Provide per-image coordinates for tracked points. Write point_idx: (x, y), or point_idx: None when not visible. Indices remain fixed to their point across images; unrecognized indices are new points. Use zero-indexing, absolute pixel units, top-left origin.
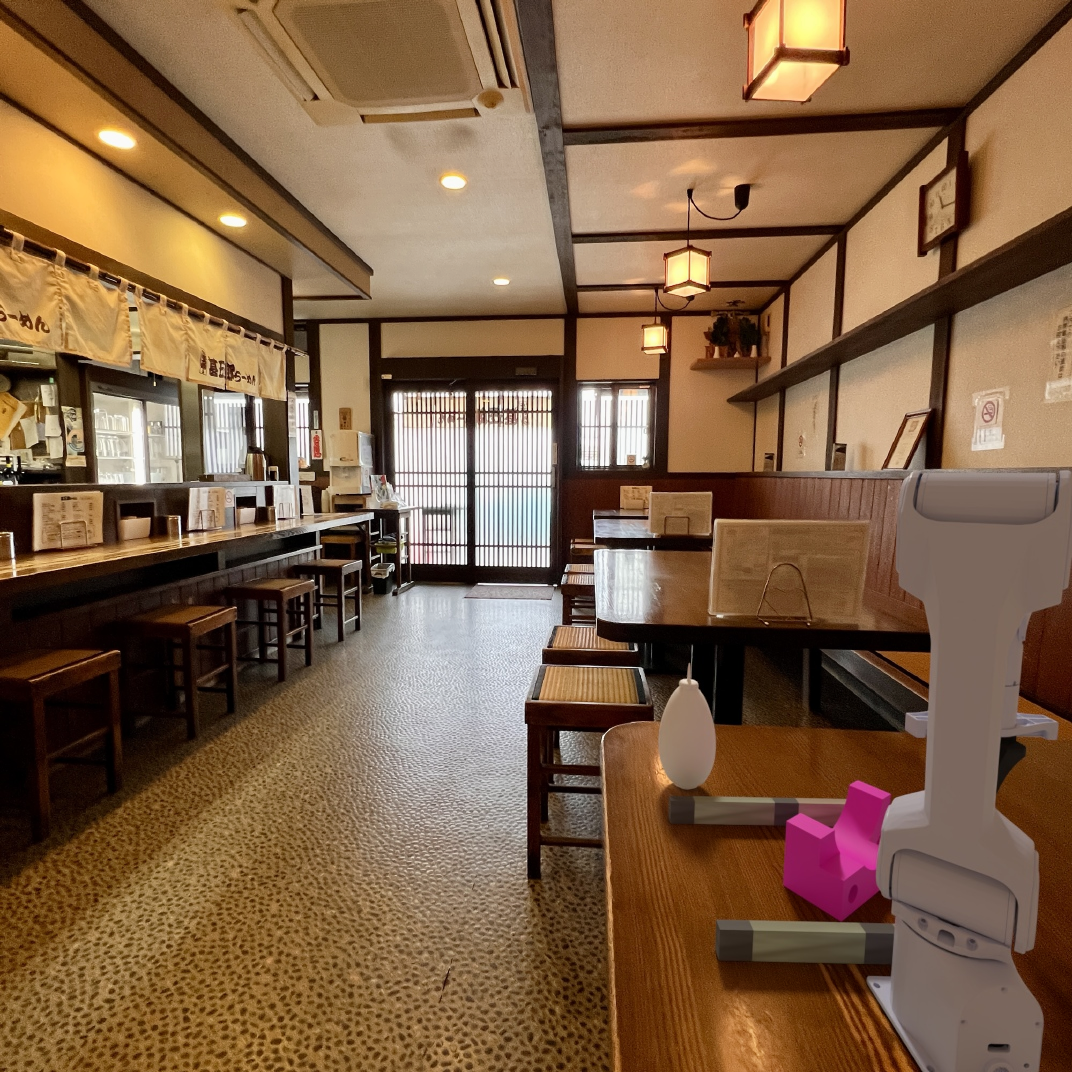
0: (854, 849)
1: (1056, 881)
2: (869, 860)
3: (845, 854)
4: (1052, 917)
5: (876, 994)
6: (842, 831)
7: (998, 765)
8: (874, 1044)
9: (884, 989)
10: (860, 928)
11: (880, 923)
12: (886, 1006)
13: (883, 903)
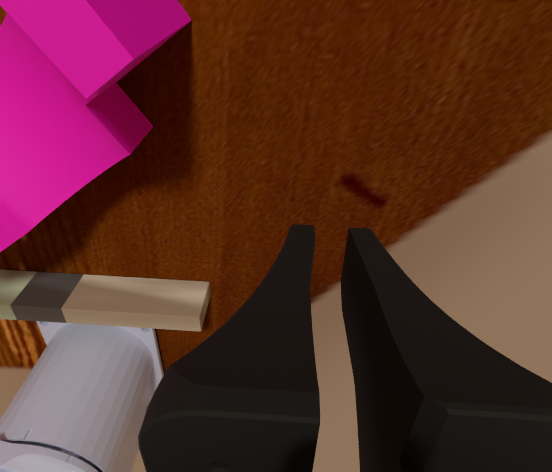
0: (50, 117)
1: (532, 134)
2: (76, 157)
3: (20, 142)
4: (402, 223)
5: (40, 330)
6: (25, 49)
7: (359, 450)
8: (30, 357)
9: (51, 327)
10: (10, 312)
11: (43, 307)
12: (46, 343)
13: (112, 185)
